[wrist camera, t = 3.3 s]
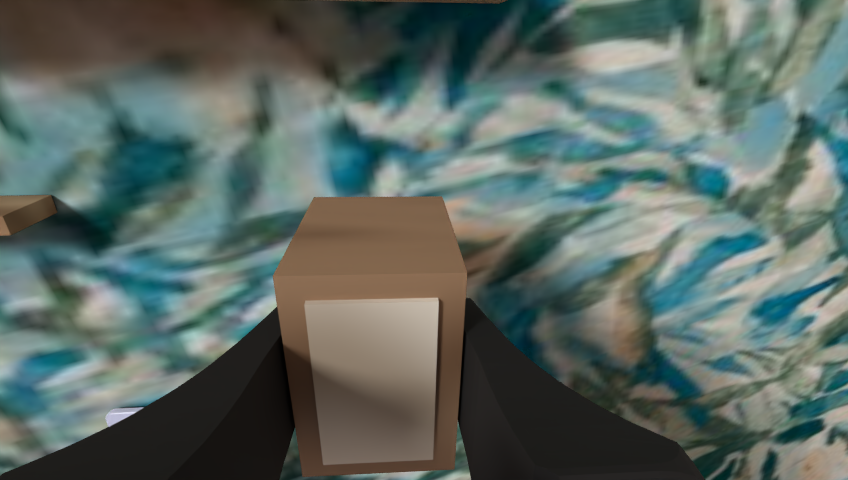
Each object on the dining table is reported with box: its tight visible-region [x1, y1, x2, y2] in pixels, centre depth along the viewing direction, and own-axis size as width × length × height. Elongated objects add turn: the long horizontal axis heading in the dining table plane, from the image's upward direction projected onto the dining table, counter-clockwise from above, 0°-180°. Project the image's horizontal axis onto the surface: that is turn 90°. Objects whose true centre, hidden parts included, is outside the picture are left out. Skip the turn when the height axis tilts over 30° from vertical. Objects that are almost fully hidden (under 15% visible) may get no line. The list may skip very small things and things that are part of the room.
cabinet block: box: [273, 197, 467, 477], centre depth 12 cm, size 6×4×5 cm, turn 179°
